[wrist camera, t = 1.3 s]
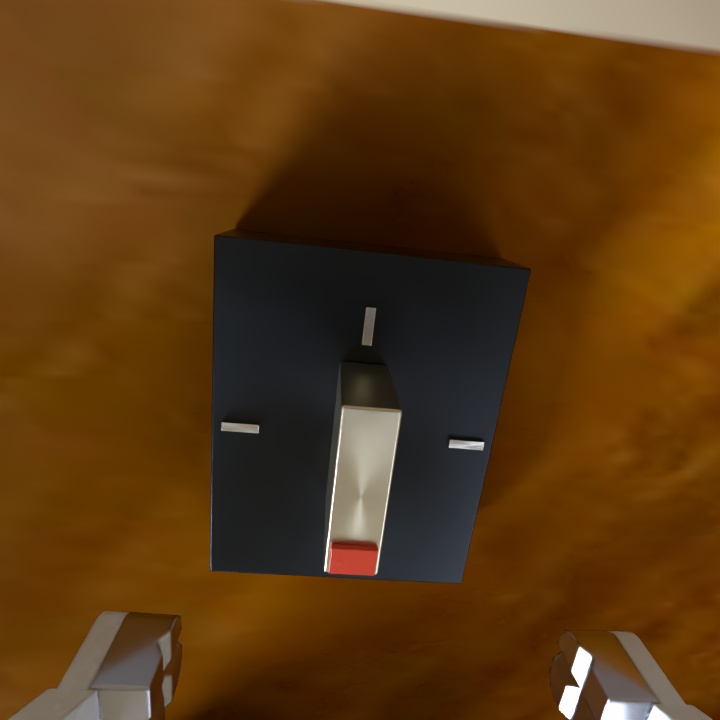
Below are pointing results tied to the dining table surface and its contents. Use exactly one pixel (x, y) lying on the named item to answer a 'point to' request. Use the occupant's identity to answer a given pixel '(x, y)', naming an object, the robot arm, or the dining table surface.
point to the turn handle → (360, 468)
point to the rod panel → (319, 389)
